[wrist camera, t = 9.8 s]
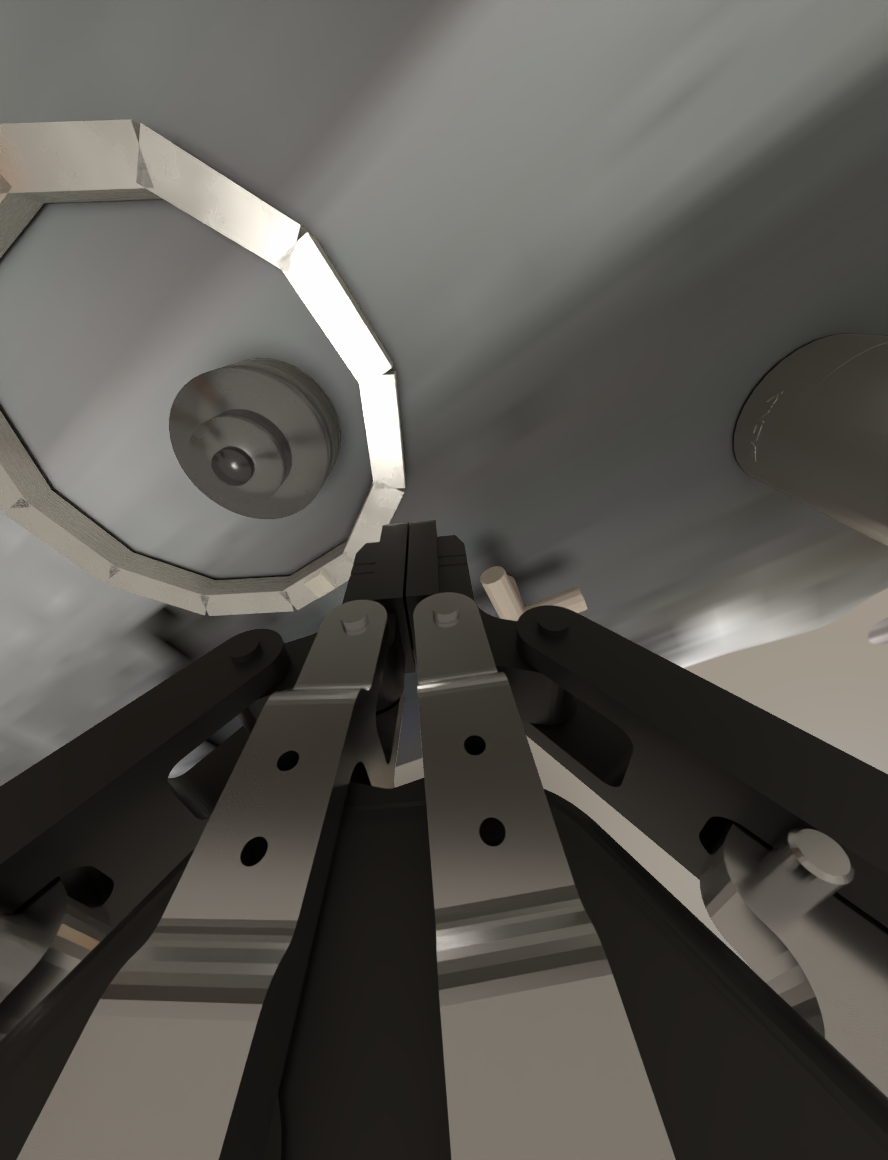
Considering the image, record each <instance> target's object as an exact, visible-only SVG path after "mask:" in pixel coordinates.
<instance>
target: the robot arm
mask: <svg viewBox="0 0 888 1160" xmlns="http://www.w3.org/2000/svg"><path fill="white" fill-rule="evenodd" d="M734 452H735V456H736V460H737V462H738V463H739V465H740V467H741V468H742V469H743V470H744V471H745V472H746V473H747V474H749V475H750V476H752V477H754V478H756V479H758V480H760V481H761V482H763V483H765V484H767V485H769V486H771V487H773V488H775V489H777V490H779V491H781V492H783V493H785V494H787V495H789V496H790V497H792V498H794V499H796V500H798V501H800V502H802V503H804V504H806V505H808V506H810V507H812V508H814V509H816V510H818V511H820V512H821V513H823V514H825V515H827V516H829V517H831V518H833V519H835V520H837V521H839V522H841V523H843V524H845V525H847V526H849V527H851V528H853V529H855V530H857V531H859V532H861V533H863V534H864V535H866V536H868V537H870V538H872V539H874V540H876V541H878V542H880V543H882V544H884V545H886V546H888V336H881V335H865V334H838V335H832V336H828V337H825V338H822V339H818V340H816V341H814V342H812V343H810V344H808V345H806V346H804V347H802V348H800V349H798V350H797V351H795V352H794V353H792V354H791V355H789V356H788V357H786V358H785V359H784V360H782V361H781V362H780V363H779V364H778V365H777V366H776V367H775V368H774V369H772V370H771V371H770V372H769V373H768V374H767V375H766V376H765V378H764V379H763V380H762V381H761V382H760V383H759V385H758V386H757V387H756V388H755V389H754V391H753V393H752V394H751V396H750V397H749V399H748V400H747V402H746V404H745V405H744V407H743V410H742V412H741V414H740V417H739V419H738V421H737V426H736V430H735V434H734ZM415 662H416V663H417V669H418V678H419V684H417V691H418V705H419V717H420V730H421V743H422V755H423V768H424V778H422V779H419V780H416V781H413V782H411V783H408V784H405V785H402V786H399V787H396V788H395V787H394V776H395V766H396V759H397V751H398V744H399V737H400V729H401V722H402V715H403V708H404V694H403V689H404V677H405V673H411V672H415ZM236 716H238V718H239V719H240V721H241V723H242V724H243V726H242V727H241V728H240V729H239V730H238V731H236V732H235V733H234V734H233V735H231V736H230V737H229V738H228V739H227V740H225V741H224V742H223V743H222V744H220V745H219V746H218V747H217V748H216V749H214V750H213V751H212V752H211V753H209V754H208V755H207V756H206V757H205V758H203V759H202V760H201V761H200V762H198V763H197V764H196V765H195V766H194V767H192V768H191V769H190V770H189V771H187V772H186V773H184V774H183V775H181V776H179V777H176V778H168V776H169V773H170V772H171V770H172V769H173V767H174V766H175V765H176V764H177V763H178V762H179V761H180V760H181V759H182V758H184V757H185V756H186V755H187V754H189V753H190V752H191V751H193V750H194V749H195V748H196V747H198V746H199V745H200V744H201V743H203V742H204V741H205V740H206V739H208V738H209V737H210V736H212V735H213V734H214V733H215V732H217V731H218V730H219V729H220V728H222V727H223V726H224V725H225V724H227V723H228V722H229V721H231V720H232V719H233V718H234V717H236ZM526 735H527V736H528V737H529V738H531V740H533V741H534V742H535V743H536V744H538V745H539V746H540V747H541V748H543V750H545V751H546V752H547V753H548V754H549V755H551V756H552V757H553V758H554V759H555V760H557V761H558V762H559V763H560V764H561V765H563V766H564V767H565V768H566V769H568V770H569V771H570V772H571V773H572V774H573V775H575V776H576V777H577V778H578V779H579V780H581V781H582V782H583V783H584V784H585V785H587V786H588V787H589V788H590V789H592V790H593V791H594V792H595V793H596V794H597V795H599V796H600V797H601V798H602V799H603V800H605V801H606V802H607V803H608V804H609V805H611V806H612V807H613V808H614V809H616V810H617V811H618V812H619V813H620V814H621V815H622V816H624V817H625V818H626V819H627V820H629V821H630V822H631V823H632V824H633V825H634V826H636V827H637V828H638V829H639V830H641V831H642V832H643V833H644V834H645V835H646V836H648V837H649V838H650V839H651V840H653V841H654V842H655V843H656V844H657V845H658V846H660V847H661V848H662V849H663V850H665V851H666V852H667V853H668V854H669V855H671V856H672V857H673V858H674V859H675V860H676V861H678V862H679V863H680V864H681V865H683V866H684V867H685V868H686V869H687V870H688V871H690V872H691V873H692V874H693V875H694V876H696V877H697V878H698V879H699V880H700V889H701V895H702V899H703V902H704V905H705V907H706V910H707V912H708V914H709V916H710V918H711V920H712V921H713V923H714V924H715V926H716V928H717V929H718V931H719V932H720V933H721V934H722V936H723V937H724V938H725V940H726V941H727V942H728V943H729V944H730V945H731V946H732V947H733V948H734V949H735V950H736V951H737V952H738V954H739V955H740V956H742V958H743V959H744V960H745V961H746V963H747V964H748V965H749V966H748V965H747V964H745V963H744V962H743V961H742V960H741V959H740V958H739V957H738V956H737V955H736V954H735V953H734V952H733V951H732V950H731V949H729V948H728V947H727V946H726V945H725V944H724V943H723V942H722V941H721V940H720V939H719V938H718V937H717V936H716V935H715V934H714V933H712V932H711V931H710V930H709V929H708V928H707V927H706V926H705V925H704V924H703V923H702V922H701V921H700V920H698V918H697V917H695V915H693V914H692V913H691V912H690V911H689V910H688V909H687V908H686V907H685V906H684V905H683V904H682V903H681V902H680V901H679V900H678V899H676V898H675V897H674V896H673V895H672V894H671V893H670V892H669V891H668V890H667V889H666V888H665V887H664V886H663V885H662V884H661V883H659V882H658V881H657V880H656V879H655V878H654V877H653V876H652V875H651V874H650V873H649V872H648V871H647V870H646V869H645V868H644V867H642V866H641V865H640V864H639V863H638V862H637V861H636V860H635V859H634V858H633V857H632V856H631V855H630V854H629V853H628V852H627V851H626V850H624V849H623V848H622V847H621V846H620V845H619V844H618V843H617V842H616V841H615V840H614V839H613V838H612V837H611V836H610V835H609V834H607V833H606V832H605V831H604V830H603V829H602V828H601V827H600V826H599V825H598V824H597V823H596V822H595V821H594V820H592V819H591V818H590V817H589V816H588V815H587V814H585V813H584V812H583V811H581V810H580V809H579V808H577V807H576V806H575V805H573V804H572V803H570V802H568V801H567V800H565V799H563V798H562V797H560V796H558V795H556V794H554V793H552V792H550V791H548V790H545V789H543V786H542V783H541V780H540V777H539V773H538V770H537V767H536V765H535V761H534V759H533V755H532V752H531V749H530V746H529V743H528V740H527V737H526ZM0 1160H888V774H886V773H884V772H882V771H880V770H878V769H876V768H874V767H872V766H870V765H868V764H866V763H865V762H863V761H861V760H859V759H857V758H855V757H853V756H851V755H849V754H847V753H845V752H844V751H842V750H840V749H838V748H835V747H834V746H832V745H830V744H828V743H826V742H824V741H822V740H820V739H818V738H817V737H815V736H813V735H811V734H809V733H807V732H805V731H803V730H801V729H799V728H797V727H795V726H794V725H792V724H790V723H788V722H786V721H784V720H782V719H780V718H778V717H776V716H774V715H772V714H770V713H768V712H767V711H765V710H763V709H761V708H759V707H757V706H755V705H753V704H751V703H749V702H747V701H745V700H743V699H742V698H740V697H738V696H736V695H734V694H732V693H730V692H728V691H726V690H724V689H722V688H720V687H718V686H716V685H715V684H713V683H711V682H709V681H707V680H705V679H703V678H701V677H699V676H697V675H695V674H693V673H691V672H690V671H688V670H686V669H684V668H682V667H680V666H678V665H676V664H674V663H672V662H670V661H668V660H667V659H665V658H663V657H661V656H659V655H657V654H655V653H653V652H651V651H649V650H647V649H645V648H643V647H641V646H640V645H638V644H636V643H634V642H632V641H630V640H628V639H626V638H624V637H622V636H620V635H618V634H616V633H615V632H613V631H611V630H609V629H607V628H605V627H603V626H601V625H599V624H597V623H595V622H593V621H591V620H590V619H588V618H586V617H584V616H582V615H580V614H578V613H576V612H574V611H572V610H570V609H567V608H564V607H560V606H553V605H543V606H537V607H533V608H531V609H529V610H527V611H525V612H524V613H523V614H522V615H521V616H520V617H519V619H518V621H513V620H506V619H501V618H496V617H493V616H491V615H489V614H487V613H485V612H483V611H482V610H481V609H480V608H479V607H478V606H477V604H476V603H475V601H474V598H473V592H472V587H471V581H470V575H469V569H468V564H467V558H466V552H465V546H464V543H463V542H462V541H461V540H460V539H459V538H457V537H456V536H455V535H452V536H441V537H437V531H436V521H435V520H429V521H418V522H410V526H409V523H396V524H385V525H383V526H382V531H381V536H380V542H373V543H366V544H365V545H364V546H363V547H362V548H361V549H360V550H359V551H358V552H357V553H356V556H355V559H354V563H353V567H352V570H351V576H350V578H349V581H348V585H347V589H346V592H345V596H344V600H343V603H342V604H341V605H339V606H337V607H336V608H334V609H333V610H331V611H330V612H329V613H328V614H327V615H326V617H325V618H324V620H323V622H322V624H321V626H320V629H319V631H318V632H317V633H315V634H313V635H310V636H307V637H304V638H300V639H297V640H294V641H291V642H288V643H284V642H283V639H282V637H281V636H280V634H278V633H277V632H275V631H273V630H269V629H255V630H250V631H246V632H243V633H241V634H238V635H236V636H234V637H232V638H230V639H229V640H227V641H226V642H224V643H222V644H221V645H219V646H218V647H216V648H215V649H213V650H212V651H210V652H208V653H207V654H205V655H204V656H202V657H201V658H199V659H198V660H196V661H194V662H193V663H191V664H190V665H188V666H187V667H185V668H184V669H182V670H181V671H179V672H177V673H176V674H174V675H173V676H171V677H170V678H168V679H167V680H165V681H163V682H162V683H160V684H159V685H157V686H156V687H154V688H153V689H151V690H149V691H148V692H146V693H145V694H143V695H142V696H140V697H139V698H137V699H136V700H134V701H132V702H131V703H129V704H128V705H126V706H125V707H123V708H122V709H120V710H118V711H117V712H115V713H114V714H112V715H111V716H109V717H108V718H106V719H104V720H103V721H101V722H100V723H98V724H97V725H95V726H94V727H92V728H91V729H89V730H87V731H86V732H84V733H83V734H81V735H80V736H78V737H77V738H75V739H73V740H72V741H70V742H69V743H67V744H66V745H64V746H63V747H61V748H59V749H58V750H56V751H55V752H53V753H52V754H50V755H49V756H47V757H45V758H44V759H42V760H41V761H39V762H38V763H36V764H35V765H33V766H32V767H30V768H28V769H27V770H25V771H24V772H22V773H21V774H19V775H18V776H16V777H14V778H13V779H11V780H10V781H8V782H7V783H5V784H4V785H2V786H0Z"/></svg>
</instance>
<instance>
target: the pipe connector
mask: <svg viewBox="0 0 888 1160" xmlns="http://www.w3.org/2000/svg"><path fill="white" fill-rule="evenodd" d="M480 582H481V583H482V585H483V587H484V589H485V591H486V593H487V595H488V597H489V599H490V601H491V602H492V604H493V606H494V608H495V610H496V612H497V614H498V616H499V617H497V618H501V619H506V620H513V621H518V619H519V617H520V616H521V615H522V614H523V613H524V612H525V611H527V610H529V609H531V608H533V607H537V606H543V605H553V606H560V607H564V608H567V609H570V610H572V611H574V612H576V613H579V612H582V611H585V610H587V606H586V603H585V601H584V598H583V596H582V594H581V592H580V590H579V588H578V587H575V588H572V589H570V590H567V591H565V592H562V593H559V594H557V595H554V596H552V597H549V598H546V599H544V600H541V601H539V602H536V603H534V604H531V605H528V606H526V607H524V604H523V601H522V599H521V596H520V593H519V590H518V587H517V584H516V581H515V579H514V578H513V577H512V576H509V575H507V574H506V572H505V570H504V569H503V568H502V567H500V566H495V567H491V568H489V569H487V570H485V571H484V572H483V573H482V574H481V576H480Z"/></svg>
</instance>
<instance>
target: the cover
mask: <svg viewBox="0 0 888 1160" xmlns="http://www.w3.org/2000/svg"><path fill="white" fill-rule="evenodd" d="M169 432H170V439H171V443H172V447H173V450H174V452H175V455H176V457H177V460H178V461H179V463H180V465H181V467H182V469H183V470H184V472H185V473H186V475H187V476H188V477H189V479H190V480H191V481H192V482H193V483H194V485H195V486H196V487H197V488H198V489H199V490H200V491H201V492H203V493H204V494H205V495H206V496H207V497H209V498H210V499H211V500H213V501H214V502H216V503H217V504H219V505H220V506H222V507H224V508H226V509H228V510H230V511H232V512H235V513H237V514H240V515H244V516H247V517H252V518H258V519H277V518H283V517H286V516H290V515H292V514H295V513H297V512H299V511H300V510H302V509H304V508H305V507H306V506H307V505H308V504H310V503H311V501H312V500H313V499H314V498H315V497H316V495H317V493H318V492H319V490H320V488H321V487H322V485H323V483H324V481H325V479H326V478H327V476H328V474H329V472H330V470H331V469H332V467H333V465H334V463H335V461H336V459H337V456H338V453H339V449H340V442H341V432H340V425H339V421H338V417H337V414H336V412H335V409H334V407H333V405H332V403H331V401H330V400H329V398H328V397H327V395H326V394H325V392H324V391H323V390H322V389H321V387H320V386H319V385H318V384H317V383H316V382H315V381H314V380H313V379H312V378H311V377H309V376H308V375H307V374H305V373H304V372H303V371H301V370H299V369H298V368H296V367H294V366H292V365H290V364H287V363H285V362H282V361H278V360H274V359H267V358H256V359H250V360H246V361H242V362H239V363H236V364H232V365H229V366H226V367H222V368H219V369H216V370H213V371H209V372H206V373H203V374H201V375H199V376H197V377H195V378H193V379H192V380H190V381H189V382H188V383H187V384H186V385H184V387H183V388H182V389H181V390H180V391H179V393H178V394H177V396H176V398H175V400H174V402H173V405H172V408H171V412H170V418H169Z"/></svg>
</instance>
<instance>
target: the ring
mask: <svg viewBox="0 0 888 1160" xmlns="http://www.w3.org/2000/svg"><path fill="white" fill-rule="evenodd" d="M144 199H164V200H166V201H168V202H169V203H171V204H173V205H174V206H176V207H178V208H179V209H181V210H183V211H184V212H186V213H188V214H189V215H191V216H193V217H194V218H196V219H198V220H199V221H201V222H203V223H205V224H206V225H208V226H210V227H211V228H213V229H215V230H216V231H218V232H220V233H221V234H223V235H225V236H226V237H228V238H230V239H231V240H233V241H235V242H236V243H238V244H240V245H241V246H243V247H245V248H246V249H248V250H250V251H251V252H253V253H255V254H256V255H258V256H260V257H261V258H263V259H265V260H266V261H268V262H270V263H271V264H273V265H275V266H277V267H278V268H280V269H281V270H282V271H283V273H284V274H285V276H286V277H287V278H288V280H289V281H290V283H291V284H292V286H293V287H294V289H295V290H296V292H297V293H298V295H299V296H300V297H301V299H302V300H303V302H304V303H305V305H306V306H307V308H308V309H309V311H310V312H311V314H312V315H313V316H314V318H315V319H316V321H317V322H318V324H319V325H320V327H321V328H322V330H323V331H324V333H325V334H326V336H327V337H328V338H329V340H330V341H331V343H332V344H333V346H334V347H335V349H336V350H337V352H338V353H339V355H340V356H341V357H342V359H343V360H344V362H345V363H346V365H347V366H348V368H349V369H350V371H351V372H352V374H353V375H354V376H355V378H356V379H357V381H358V382H359V386H360V393H361V400H362V407H363V414H364V421H365V427H366V434H367V441H368V448H369V455H370V462H371V469H372V476H373V483H372V485H371V487H370V489H369V492H368V494H367V496H366V498H365V501H364V503H363V505H362V507H361V510H360V512H359V514H358V517H357V519H356V521H355V523H354V526H353V528H352V530H351V532H350V535H349V537H348V539H347V541H345V542H344V543H342V544H341V545H339V546H337V547H336V548H334V549H333V550H331V551H329V552H328V553H326V554H325V555H323V556H321V557H320V558H318V559H317V560H315V561H313V562H312V563H310V564H309V565H307V566H305V567H304V568H302V569H300V570H299V571H297V572H296V573H294V574H292V575H291V576H285V577H267V578H249V579H232V580H213V579H210V578H207V577H204V576H201V575H198V574H195V573H192V572H189V571H186V570H183V569H180V568H178V567H175V566H172V565H169V564H166V563H163V562H160V561H157V560H154V559H151V558H148V557H145V556H142V555H139V554H136V553H133V552H132V551H130V550H129V549H128V548H126V547H125V546H124V545H122V544H121V543H120V542H119V541H117V540H116V539H115V538H113V537H112V536H111V535H109V534H108V533H107V532H106V531H104V530H103V529H102V528H100V527H99V526H98V525H96V524H95V523H94V522H92V521H91V520H90V519H89V518H87V517H86V516H85V515H83V514H82V513H81V512H79V511H78V510H77V509H76V508H74V507H73V506H72V505H70V504H69V503H68V502H66V501H65V500H64V499H62V498H61V497H60V496H59V495H57V494H56V493H55V492H53V491H52V490H51V489H50V487H49V485H48V484H47V482H46V481H45V479H44V478H43V476H42V475H41V473H40V471H39V470H38V468H37V467H36V465H35V464H34V462H33V461H32V459H31V457H30V456H29V454H28V453H27V451H26V450H25V448H24V447H23V445H22V444H21V442H20V440H19V439H18V437H17V436H16V434H15V433H14V431H13V430H12V428H11V426H10V425H9V423H8V422H7V420H6V419H5V417H4V416H3V414H2V413H1V411H0V509H6V508H9V509H8V510H7V511H6V512H5V513H4V514H5V515H6V516H8V517H9V518H11V519H12V520H14V521H15V522H17V523H18V524H19V525H21V526H22V527H24V528H25V529H27V530H28V531H29V532H31V533H32V534H34V535H35V536H37V537H38V538H40V539H41V540H42V541H44V542H45V543H47V544H48V545H50V546H51V547H52V548H54V549H55V550H57V551H58V552H60V553H61V554H63V555H64V556H65V557H67V558H68V559H70V560H71V561H73V562H74V563H75V564H77V565H78V566H80V567H81V568H83V569H84V570H86V571H87V572H88V573H90V574H91V575H93V576H94V577H96V578H97V579H98V580H100V581H101V582H103V583H104V582H105V581H107V580H108V579H109V586H112V587H115V588H118V589H122V590H125V591H128V592H131V593H135V594H138V595H141V596H144V597H147V598H151V599H154V600H157V601H160V602H163V603H167V604H170V605H173V606H176V607H180V608H183V609H186V610H189V611H192V612H196V613H199V614H202V615H205V614H206V613H207V612H208V614H209V616H217V615H235V614H252V613H269V612H286V611H294V609H295V608H296V609H297V610H299V609H300V608H302V607H304V606H305V605H307V604H309V603H311V602H312V601H314V600H316V599H317V598H320V597H321V596H323V595H325V594H327V593H328V592H330V591H332V590H333V589H335V588H336V587H338V586H340V585H341V584H343V583H345V582H346V581H348V580H349V578H350V576H351V570H352V567H353V563H354V559H355V556H356V553H357V552H358V551H359V550H360V549H361V548H362V547H363V546H364V545H365V544H366V543H373V542H380V536H381V531H382V526H383V525H385V524H389V522H390V520H391V518H392V516H393V514H394V512H395V510H396V508H397V506H398V504H399V502H400V500H401V498H402V496H403V494H404V489H405V483H406V471H405V460H404V450H403V439H402V428H401V418H400V407H399V396H398V386H397V375H396V370H390V369H391V368H392V366H393V364H394V363H393V361H392V360H391V358H390V356H389V355H388V353H387V351H386V350H385V348H384V347H383V345H382V343H381V342H380V340H379V339H378V337H377V335H376V334H375V332H374V330H373V329H372V327H371V326H370V324H369V322H368V321H367V319H366V318H365V316H364V314H363V313H362V311H361V309H360V308H359V306H358V305H357V303H356V301H355V300H354V298H353V296H352V295H351V293H350V292H349V290H348V288H347V287H346V285H345V284H344V282H343V280H342V279H341V277H340V275H339V274H338V272H337V271H336V269H335V267H334V266H333V264H332V262H331V261H330V259H329V258H328V256H327V254H326V253H325V251H324V250H323V248H322V246H321V245H320V243H319V241H318V240H317V238H315V237H314V236H312V235H311V234H310V231H308V230H307V229H305V228H304V227H302V226H301V225H299V224H298V223H296V222H295V221H293V220H292V219H290V218H288V217H287V216H285V215H284V214H282V213H281V212H279V211H278V210H276V209H274V208H273V207H271V206H270V205H268V204H267V203H265V202H264V201H262V200H260V199H259V198H257V197H256V196H254V195H253V194H251V193H249V192H248V191H246V190H245V189H243V188H242V187H240V186H239V185H237V184H235V183H234V182H232V181H231V180H229V179H228V178H226V177H225V176H223V175H221V174H220V173H218V172H217V171H215V170H214V169H212V168H210V167H209V166H207V165H206V164H204V163H203V162H201V161H200V160H198V159H196V158H195V157H193V156H192V155H190V154H189V153H187V152H185V151H184V150H182V149H181V148H179V147H178V146H176V145H175V144H173V143H171V142H170V141H168V140H167V139H165V138H164V137H162V136H161V135H159V134H157V133H156V132H154V131H153V130H151V129H150V128H148V127H146V126H145V125H143V124H142V123H140V125H139V124H137V123H135V122H134V121H132V120H101V121H70V122H40V123H9V124H0V258H1V257H2V256H3V254H4V253H5V252H6V251H7V249H8V248H9V247H10V246H11V244H12V243H13V242H14V241H15V239H16V238H17V237H18V235H19V234H20V233H21V232H22V230H23V229H24V228H25V227H26V225H27V224H28V223H29V222H30V220H31V219H32V218H33V217H34V215H35V214H36V213H37V212H38V210H39V209H40V208H41V206H42V205H43V204H44V203H62V202H90V201H117V200H144Z"/></svg>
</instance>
